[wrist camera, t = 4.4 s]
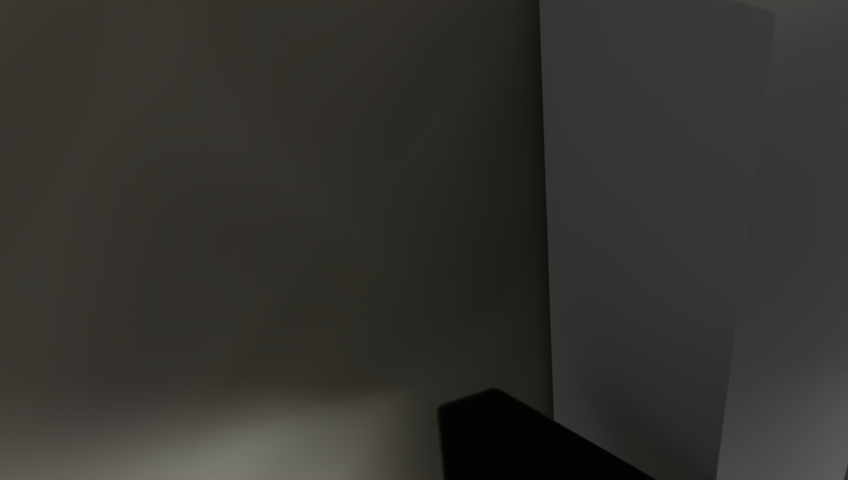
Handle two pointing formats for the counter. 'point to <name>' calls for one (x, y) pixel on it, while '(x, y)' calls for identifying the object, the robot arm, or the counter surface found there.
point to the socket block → (700, 232)
